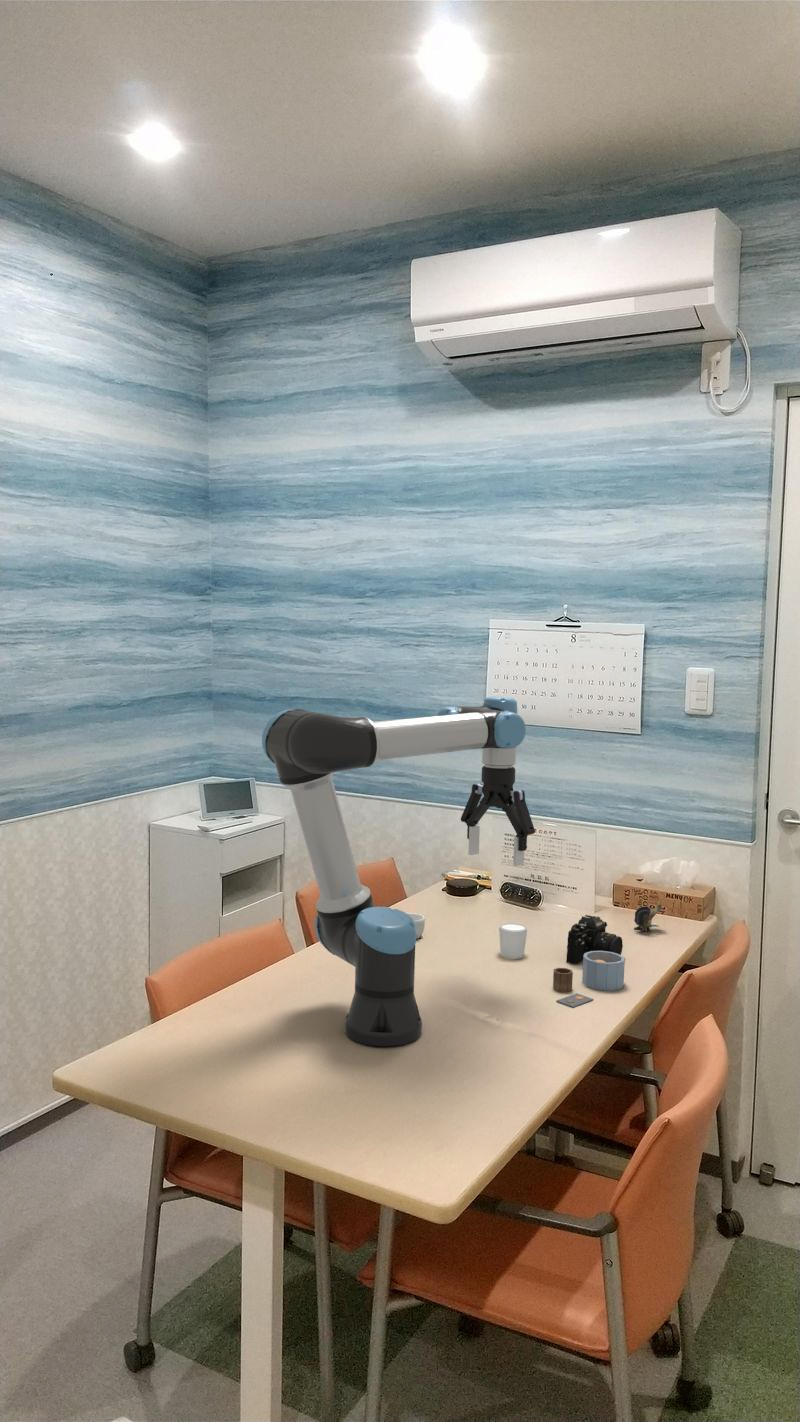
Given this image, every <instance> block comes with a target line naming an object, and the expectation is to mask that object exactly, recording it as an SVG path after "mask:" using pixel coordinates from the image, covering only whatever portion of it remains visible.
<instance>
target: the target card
mask: <svg viewBox="0 0 800 1422" xmlns="http://www.w3.org/2000/svg"><path fill="white" fill-rule="evenodd" d="M593 1001H594V998H593V997H589V996H586V995H583V994H581V993H577V992H576V993H574V994H571V995H567V996H565V997H562V998H560V999H557V1000H555V1002H556V1003H558V1004H560V1005H561V1004H562V1005H564V1006H567V1007H569V1008H571V1009H574V1008H577V1007H580V1006H582V1005H584V1004H587V1003H591V1002H593Z"/></svg>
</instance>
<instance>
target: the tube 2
mask: <svg viewBox="0 0 800 1422" xmlns="http://www.w3.org/2000/svg"><path fill="white" fill-rule="evenodd" d="M625 959H626V958H625V957H624V956H623V955H622V954H621V955H620V954H616V953H613V952H607V951H590V952H587V953H584V956H583V961H582V976H581V977H582V984H583V985H585V986H586V987H588V988H590V989H593V990H600V991H617V990H621V989H622V988H624V985H625V964H626V963H625V961H626V960H625ZM595 960H603V961H605V962H597V961H595Z"/></svg>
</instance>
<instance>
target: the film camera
mask: <svg viewBox="0 0 800 1422" xmlns="http://www.w3.org/2000/svg"><path fill="white" fill-rule="evenodd" d="M607 927H608V924H607V922H606V921H604V920H602V919H601V917H600V916H597V915H594V916H593V915H590V914H585V915H583V916H581V918H580V919H579V920H578V923H577V922H576V923H574V924H573V925H572V926H571V927H570V930H569V931H568V934H567V946H566V963H567V964H572V965H578V964H580V963H583V956H584V953H587V952H590V951H607V952H613V953H616V954H620V955H621V956H622V952H623V947H624V945H623V938H622V937H621V936H619V935H617V934H615V933H610V932H607V931H606V929H607Z"/></svg>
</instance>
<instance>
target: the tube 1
mask: <svg viewBox="0 0 800 1422" xmlns="http://www.w3.org/2000/svg"><path fill="white" fill-rule="evenodd" d="M573 973H574V972H573V970H572V969H569V968H567V967H557V968H553V975H552V989H553V990H554V991H556V992H560V993H568V992H571V991H573V976H574V974H573Z"/></svg>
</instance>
